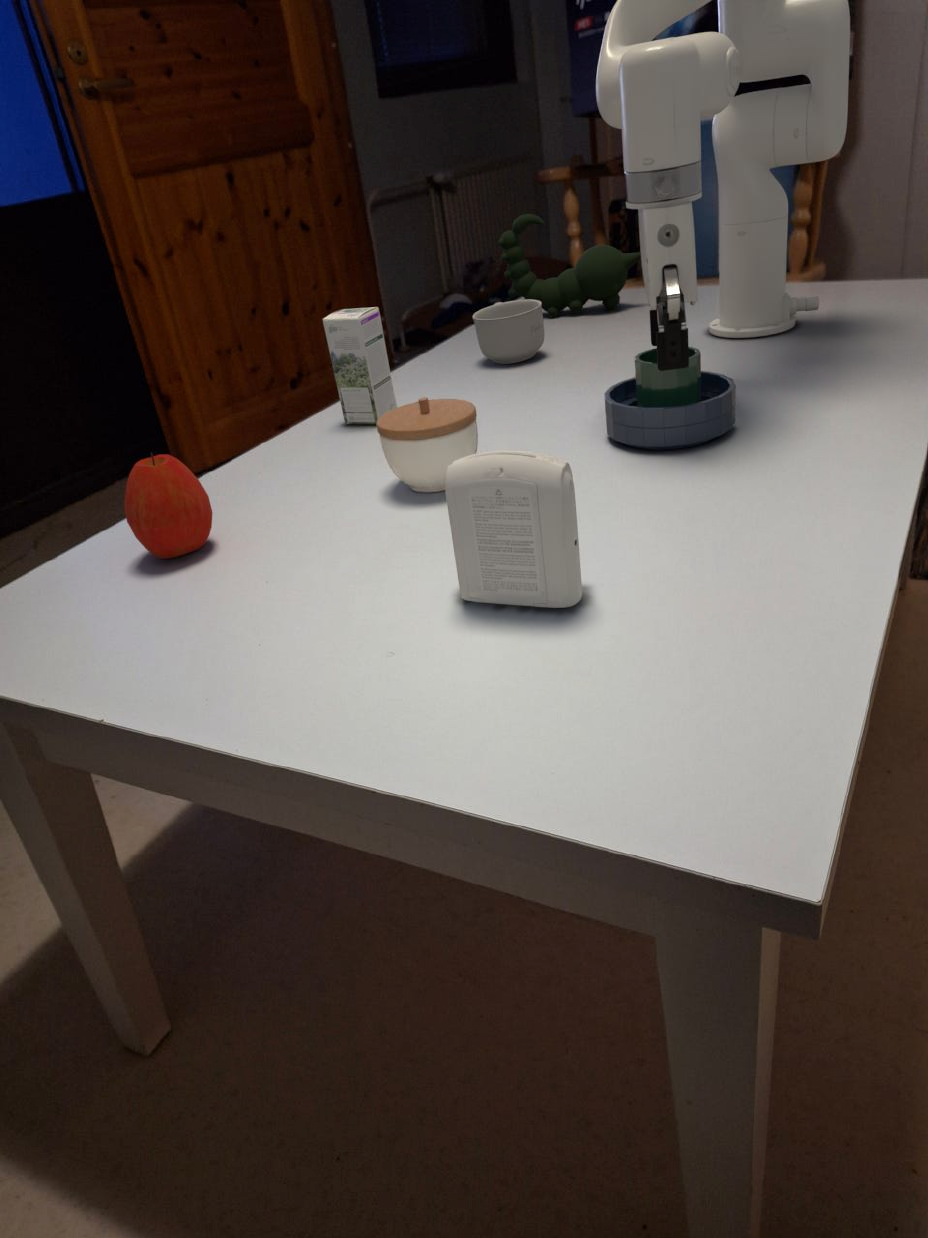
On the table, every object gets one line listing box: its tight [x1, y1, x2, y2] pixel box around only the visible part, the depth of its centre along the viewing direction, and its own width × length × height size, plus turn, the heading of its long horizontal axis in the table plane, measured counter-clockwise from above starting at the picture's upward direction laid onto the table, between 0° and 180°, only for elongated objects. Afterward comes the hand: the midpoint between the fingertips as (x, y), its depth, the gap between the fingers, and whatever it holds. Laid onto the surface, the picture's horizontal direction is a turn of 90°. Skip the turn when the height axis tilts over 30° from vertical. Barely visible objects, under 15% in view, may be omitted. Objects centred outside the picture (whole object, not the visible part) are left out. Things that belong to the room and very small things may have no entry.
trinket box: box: [375, 397, 479, 494], centre depth 97 cm, size 11×11×9 cm
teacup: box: [471, 298, 545, 365], centre depth 142 cm, size 14×11×8 cm
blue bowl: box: [603, 370, 737, 450], centre depth 101 cm, size 14×14×5 cm
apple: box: [123, 452, 213, 560], centre depth 90 cm, size 8×8×11 cm
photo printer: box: [444, 449, 583, 609], centre depth 70 cm, size 10×4×12 cm, turn 69°
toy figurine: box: [497, 213, 641, 318], centre depth 162 cm, size 9×19×25 cm
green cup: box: [633, 346, 702, 408], centre depth 100 cm, size 7×7×8 cm
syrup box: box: [322, 306, 398, 425], centre depth 121 cm, size 6×6×14 cm
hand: (669, 355), depth 99 cm, fingers open, 9 cm apart
